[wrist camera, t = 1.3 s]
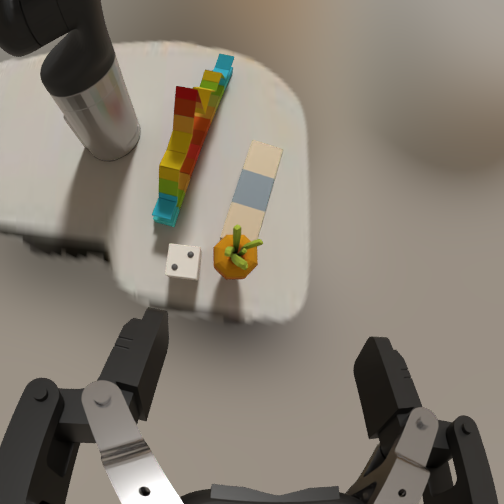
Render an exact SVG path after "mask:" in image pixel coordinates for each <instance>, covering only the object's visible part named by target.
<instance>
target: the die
mask: <svg viewBox="0 0 504 504" xmlns="http://www.w3.org/2000/svg"><path fill="white" fill-rule="evenodd" d="M201 253H202V251H201V247H196V246H188V245H179V244H171V243H169V250H168V257H167V264H166V271H165V275H167V276H169V277H173V278H180V279H188V280H196V281H198V277H199V269H200V261H201Z"/></svg>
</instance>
